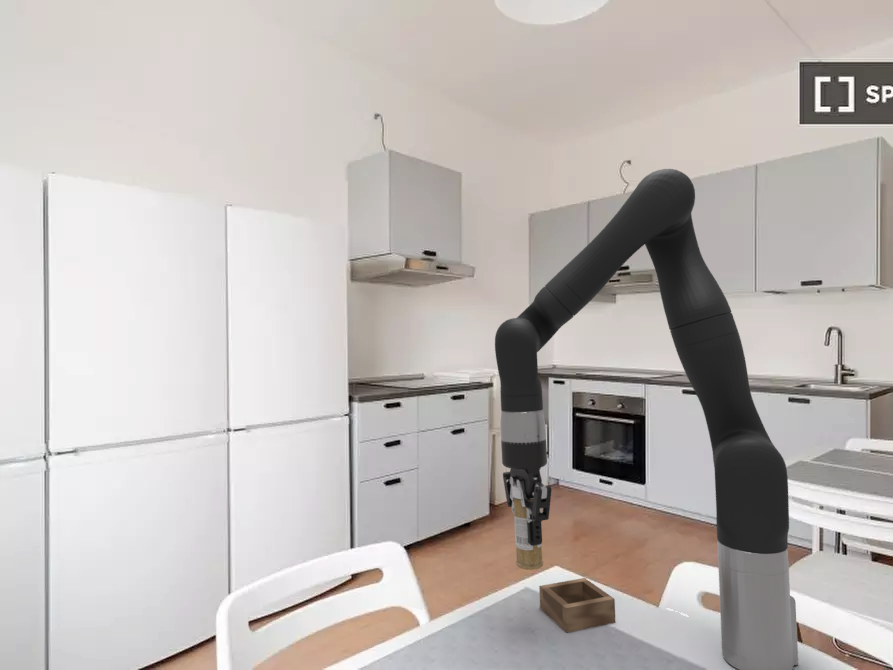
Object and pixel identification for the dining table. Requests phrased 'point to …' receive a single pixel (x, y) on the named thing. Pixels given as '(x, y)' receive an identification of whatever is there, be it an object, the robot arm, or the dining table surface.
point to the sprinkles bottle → (524, 536)
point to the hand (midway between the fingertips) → (528, 539)
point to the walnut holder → (577, 604)
